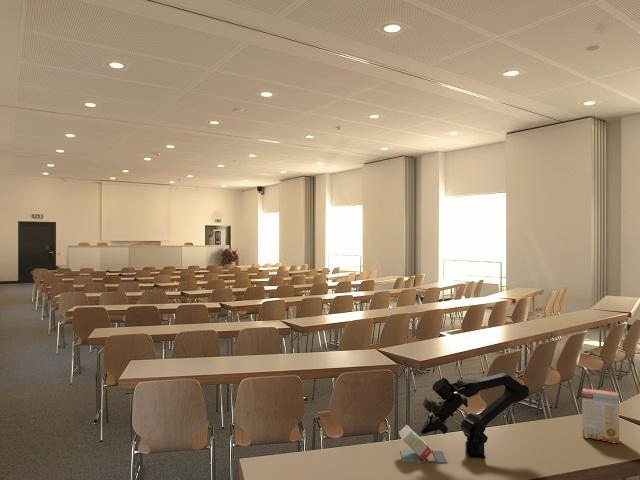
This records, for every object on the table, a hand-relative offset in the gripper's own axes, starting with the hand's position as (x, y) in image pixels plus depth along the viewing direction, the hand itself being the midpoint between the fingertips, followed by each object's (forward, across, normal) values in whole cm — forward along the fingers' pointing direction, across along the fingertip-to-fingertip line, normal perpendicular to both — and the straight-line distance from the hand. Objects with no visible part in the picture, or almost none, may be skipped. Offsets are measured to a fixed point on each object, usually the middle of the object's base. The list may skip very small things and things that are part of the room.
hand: (421, 433), depth 199 cm
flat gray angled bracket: (+6, 0, +7) cm, 9 cm away
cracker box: (-51, -23, +64) cm, 85 cm away
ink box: (+4, 0, +7) cm, 8 cm away
